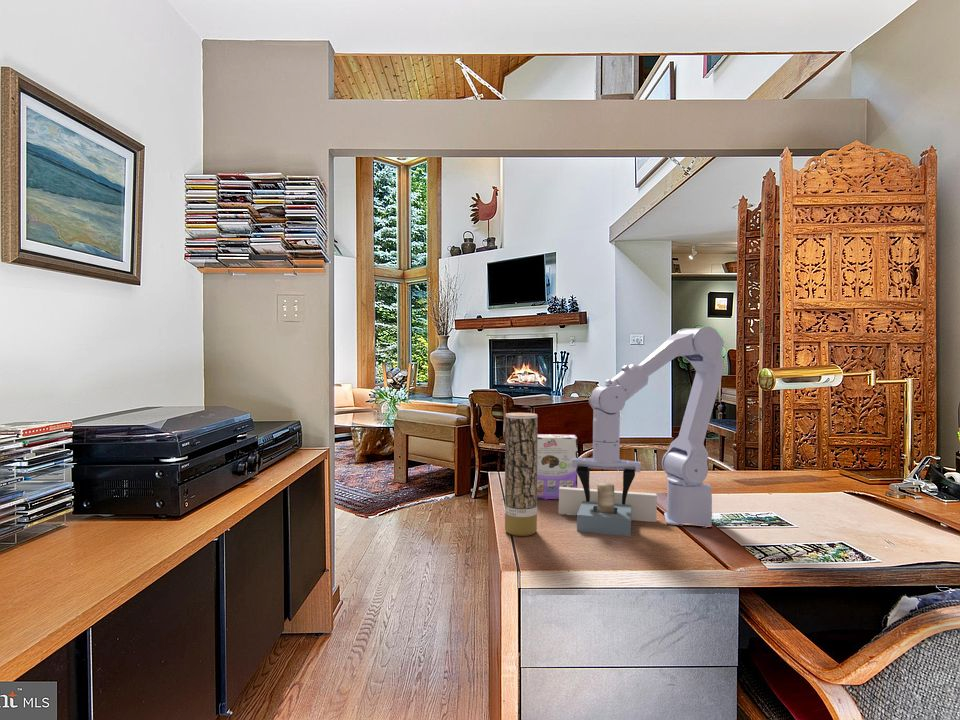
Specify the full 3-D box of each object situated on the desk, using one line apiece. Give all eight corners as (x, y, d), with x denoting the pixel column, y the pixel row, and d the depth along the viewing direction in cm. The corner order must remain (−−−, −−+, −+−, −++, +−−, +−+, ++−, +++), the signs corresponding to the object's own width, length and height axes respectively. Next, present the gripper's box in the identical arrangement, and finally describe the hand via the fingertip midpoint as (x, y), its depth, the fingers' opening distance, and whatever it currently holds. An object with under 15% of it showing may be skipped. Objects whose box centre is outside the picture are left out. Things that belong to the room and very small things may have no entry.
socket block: (631, 522, 123) (631, 505, 123) (630, 538, 113) (630, 519, 113) (582, 518, 126) (582, 501, 126) (576, 533, 116) (577, 514, 116)
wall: (656, 519, 124) (656, 493, 124) (656, 522, 122) (656, 495, 122) (559, 511, 130) (559, 486, 130) (558, 514, 128) (558, 488, 128)
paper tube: (535, 538, 111) (535, 416, 111) (502, 536, 112) (503, 415, 112) (538, 528, 118) (539, 413, 117) (507, 525, 119) (508, 412, 119)
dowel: (617, 521, 119) (617, 485, 119) (606, 524, 117) (606, 487, 117) (604, 517, 122) (605, 482, 122) (593, 520, 120) (594, 484, 120)
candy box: (575, 495, 145) (576, 433, 145) (577, 501, 139) (578, 437, 139) (524, 493, 147) (524, 432, 147) (523, 499, 141) (524, 436, 141)
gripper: (640, 439, 121) (639, 499, 122) (574, 436, 125) (574, 494, 125) (640, 444, 115) (640, 508, 115) (571, 441, 118) (571, 503, 119)
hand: (605, 502), depth 120 cm, fingers open, 7 cm apart
